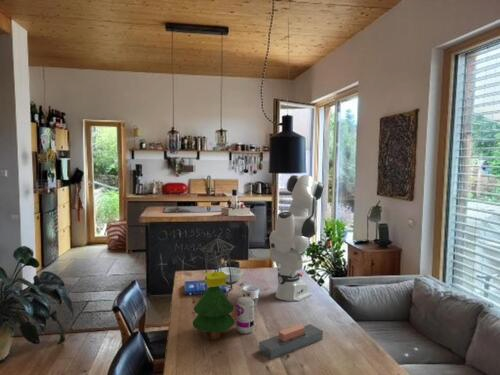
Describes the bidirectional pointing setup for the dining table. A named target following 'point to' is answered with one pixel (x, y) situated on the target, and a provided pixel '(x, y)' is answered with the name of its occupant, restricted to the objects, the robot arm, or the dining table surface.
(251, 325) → the supplement can
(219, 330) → the decorative tree
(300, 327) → the pink notched block
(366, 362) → the dining table surface
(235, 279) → the cereal bowl
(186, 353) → the dining table surface
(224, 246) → the geometric lantern
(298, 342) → the rail
